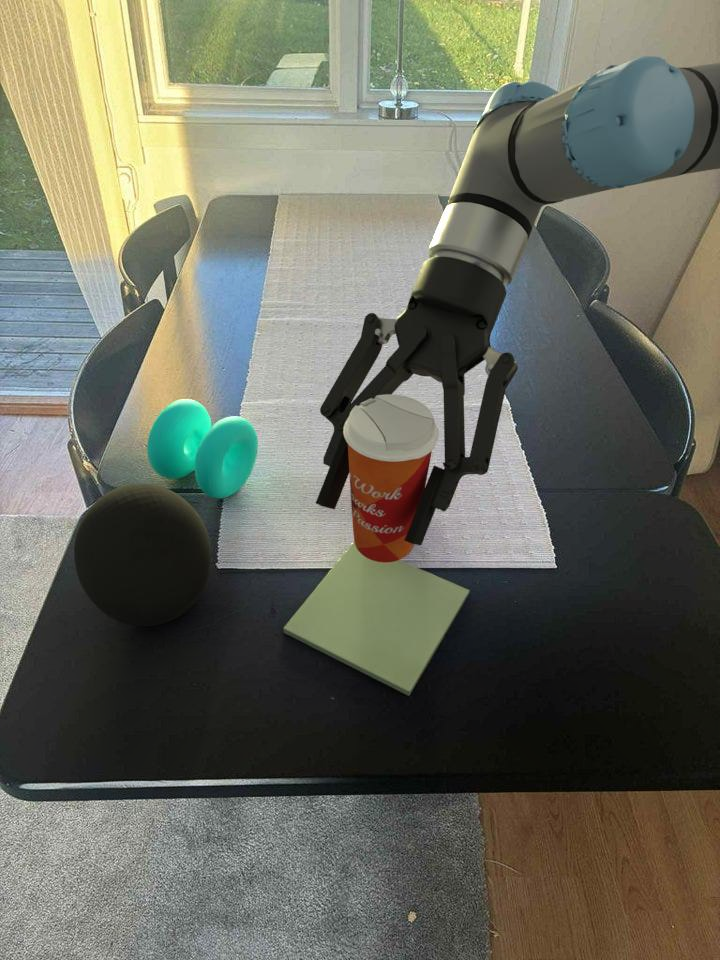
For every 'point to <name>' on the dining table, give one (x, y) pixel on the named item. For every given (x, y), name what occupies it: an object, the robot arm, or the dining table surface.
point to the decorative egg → (142, 554)
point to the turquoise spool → (202, 448)
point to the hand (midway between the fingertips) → (368, 523)
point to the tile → (378, 617)
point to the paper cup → (387, 471)
